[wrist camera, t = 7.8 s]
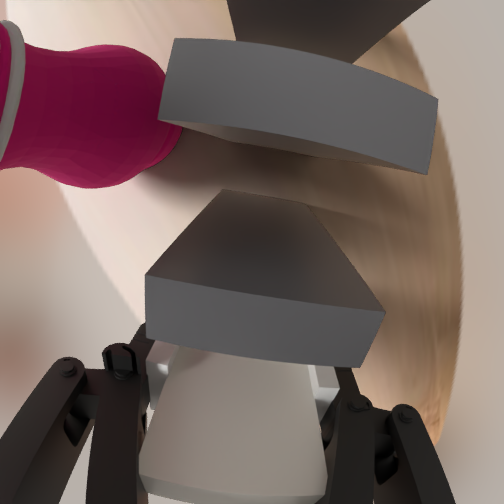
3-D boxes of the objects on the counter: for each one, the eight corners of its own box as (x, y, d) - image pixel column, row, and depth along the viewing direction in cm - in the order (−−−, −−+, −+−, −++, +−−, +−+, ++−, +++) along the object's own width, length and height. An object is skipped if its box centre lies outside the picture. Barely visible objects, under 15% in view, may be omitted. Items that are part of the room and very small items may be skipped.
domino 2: (234, 115, 15) (174, 38, 4) (319, 131, 15) (438, 99, 4) (229, 141, 16) (157, 119, 4) (314, 156, 16) (427, 175, 4)
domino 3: (222, 189, 17) (144, 274, 5) (305, 204, 17) (385, 312, 5) (218, 215, 17) (146, 337, 6) (300, 229, 17) (360, 367, 6)
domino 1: (247, 47, 14) (225, -94, 2) (330, 63, 14) (431, -44, 2) (243, 70, 14) (210, -62, 3) (327, 86, 14) (437, -6, 3)
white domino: (207, 276, 16) (133, 471, 5) (293, 290, 16) (330, 494, 5) (204, 300, 17) (141, 491, 5) (286, 313, 17) (310, 510, 6)
